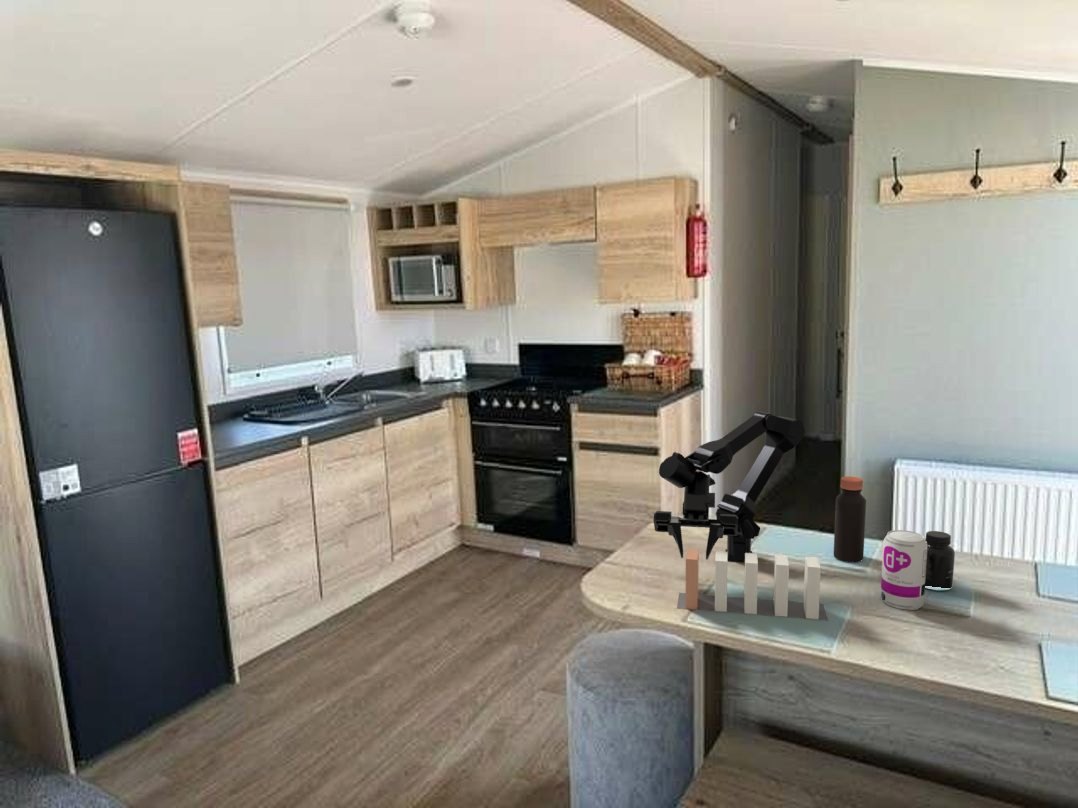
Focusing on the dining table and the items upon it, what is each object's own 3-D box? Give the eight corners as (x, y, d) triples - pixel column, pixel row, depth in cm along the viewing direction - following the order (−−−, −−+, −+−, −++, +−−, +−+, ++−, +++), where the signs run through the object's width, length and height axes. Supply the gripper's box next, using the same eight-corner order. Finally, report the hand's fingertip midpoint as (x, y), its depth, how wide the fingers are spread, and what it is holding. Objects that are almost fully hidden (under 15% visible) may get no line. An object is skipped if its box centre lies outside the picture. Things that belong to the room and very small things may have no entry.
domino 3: (775, 615, 153) (776, 564, 151) (773, 604, 158) (774, 554, 156) (787, 616, 152) (788, 565, 150) (785, 605, 157) (786, 555, 156)
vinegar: (837, 551, 188) (840, 473, 184) (866, 556, 184) (870, 477, 180) (830, 559, 182) (833, 480, 179) (859, 565, 178) (863, 484, 175)
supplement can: (906, 615, 152) (910, 545, 150) (871, 600, 159) (875, 533, 157) (932, 606, 156) (936, 537, 153) (897, 592, 163) (901, 526, 160)
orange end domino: (685, 608, 157) (685, 559, 155) (686, 597, 162) (687, 549, 160) (697, 609, 156) (697, 559, 155) (698, 598, 162) (698, 550, 160)
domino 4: (806, 618, 151) (807, 566, 149) (803, 606, 157) (805, 556, 155) (818, 619, 151) (820, 567, 149) (815, 607, 156) (817, 557, 154)
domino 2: (744, 613, 154) (745, 562, 152) (744, 601, 159) (745, 552, 158) (756, 614, 154) (757, 563, 152) (755, 602, 159) (756, 553, 157)
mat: (679, 594, 165) (679, 592, 165) (823, 605, 158) (823, 603, 158) (676, 609, 157) (676, 608, 157) (828, 622, 150) (828, 620, 150)
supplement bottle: (956, 593, 162) (960, 540, 160) (922, 591, 163) (926, 538, 161) (946, 580, 168) (950, 529, 166) (913, 578, 170) (916, 528, 168)
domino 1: (714, 610, 156) (715, 560, 154) (715, 599, 161) (715, 551, 159) (726, 611, 155) (727, 561, 153) (726, 600, 160) (727, 551, 158)
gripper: (654, 477, 170) (649, 540, 162) (738, 480, 166) (738, 545, 157) (657, 500, 179) (653, 561, 170) (737, 503, 175) (737, 566, 166)
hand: (694, 558), depth 166 cm, fingers open, 5 cm apart
